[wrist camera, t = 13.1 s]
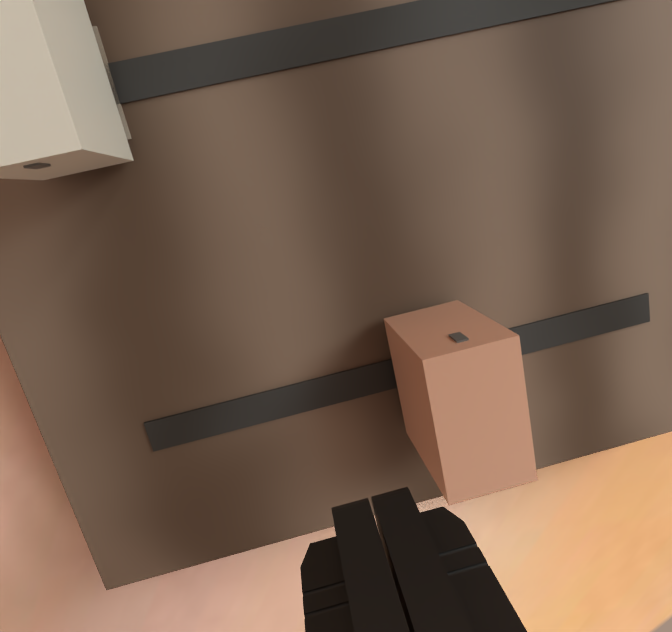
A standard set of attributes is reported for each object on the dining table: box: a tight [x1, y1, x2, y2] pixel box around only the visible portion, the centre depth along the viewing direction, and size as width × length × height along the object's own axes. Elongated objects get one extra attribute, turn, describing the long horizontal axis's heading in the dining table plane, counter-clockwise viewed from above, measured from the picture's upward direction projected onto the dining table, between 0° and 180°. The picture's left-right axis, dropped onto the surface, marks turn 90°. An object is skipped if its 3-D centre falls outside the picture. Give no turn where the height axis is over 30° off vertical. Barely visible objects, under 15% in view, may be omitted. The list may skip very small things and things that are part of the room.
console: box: [0, 0, 672, 590], centre depth 17 cm, size 23×20×3 cm
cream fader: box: [0, 0, 134, 180], centre depth 11 cm, size 2×4×4 cm, turn 13°
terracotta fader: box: [384, 300, 538, 505], centre depth 14 cm, size 2×4×4 cm, turn 13°
